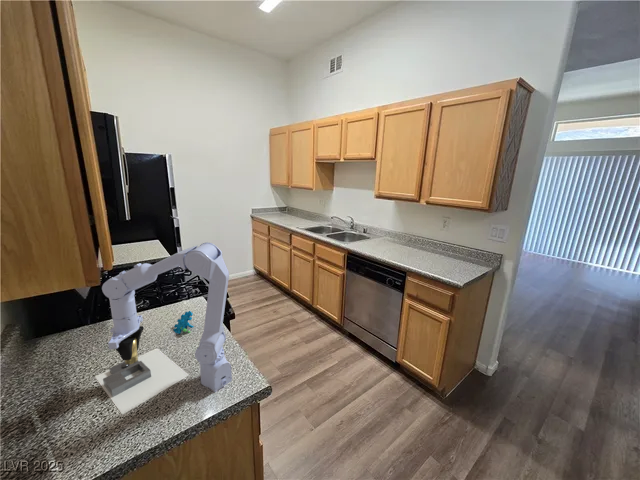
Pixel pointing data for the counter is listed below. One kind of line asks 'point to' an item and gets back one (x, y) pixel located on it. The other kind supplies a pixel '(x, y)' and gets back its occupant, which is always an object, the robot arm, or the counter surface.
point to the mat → (161, 379)
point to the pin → (133, 353)
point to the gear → (183, 323)
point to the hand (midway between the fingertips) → (130, 355)
